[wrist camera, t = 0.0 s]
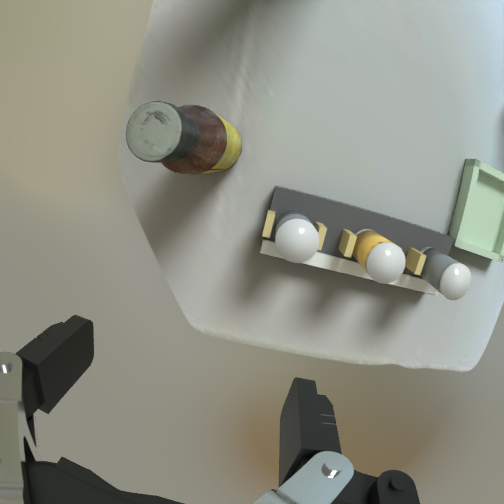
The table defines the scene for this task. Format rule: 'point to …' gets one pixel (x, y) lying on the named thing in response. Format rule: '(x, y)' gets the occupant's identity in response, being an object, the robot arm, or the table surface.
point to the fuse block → (354, 236)
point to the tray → (480, 211)
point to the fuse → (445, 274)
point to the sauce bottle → (183, 138)
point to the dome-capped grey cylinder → (296, 236)
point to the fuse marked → (378, 256)
